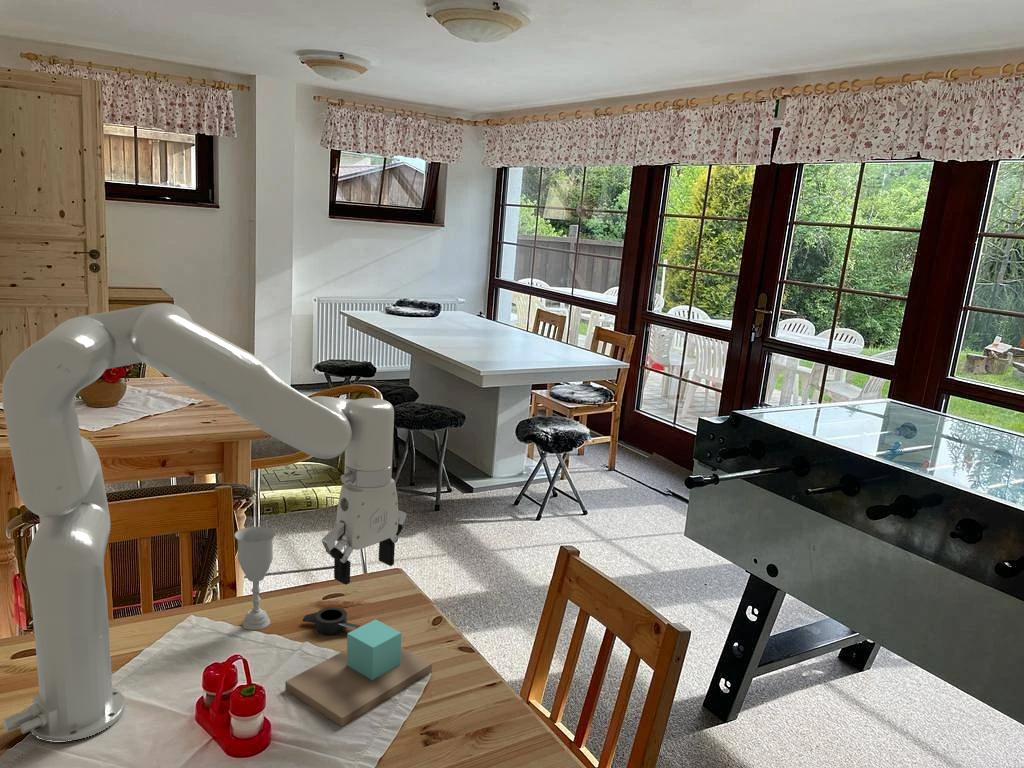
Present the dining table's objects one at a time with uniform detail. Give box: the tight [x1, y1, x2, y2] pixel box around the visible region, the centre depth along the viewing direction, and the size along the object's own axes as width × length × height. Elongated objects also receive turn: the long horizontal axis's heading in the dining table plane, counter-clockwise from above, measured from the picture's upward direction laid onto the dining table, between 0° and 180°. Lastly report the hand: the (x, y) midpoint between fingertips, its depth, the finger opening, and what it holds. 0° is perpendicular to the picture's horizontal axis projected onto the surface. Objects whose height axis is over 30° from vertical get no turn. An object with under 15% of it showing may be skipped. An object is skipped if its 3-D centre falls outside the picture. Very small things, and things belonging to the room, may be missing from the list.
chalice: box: [234, 526, 276, 631], centre depth 145 cm, size 7×7×18 cm
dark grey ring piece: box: [301, 606, 361, 637], centre depth 147 cm, size 8×10×3 cm
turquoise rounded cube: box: [346, 619, 402, 680], centre depth 133 cm, size 6×6×6 cm
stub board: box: [284, 646, 433, 727], centre depth 131 cm, size 20×14×6 cm
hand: (364, 572), depth 129 cm, fingers open, 9 cm apart
